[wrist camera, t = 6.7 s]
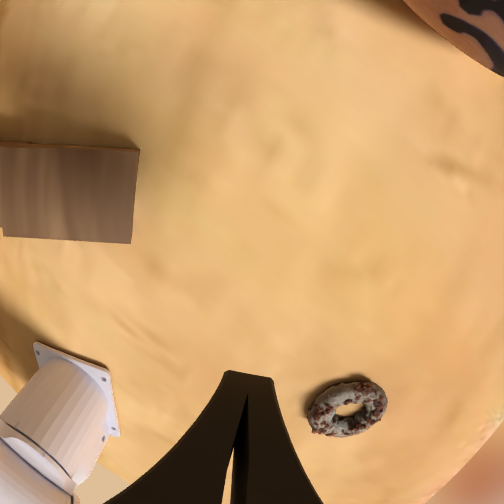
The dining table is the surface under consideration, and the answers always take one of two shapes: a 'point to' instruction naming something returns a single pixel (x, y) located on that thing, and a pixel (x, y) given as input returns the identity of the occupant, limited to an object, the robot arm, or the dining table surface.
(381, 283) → the dining table surface
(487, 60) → the ceramic pitcher
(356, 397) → the donut
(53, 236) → the domino
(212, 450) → the robot arm
